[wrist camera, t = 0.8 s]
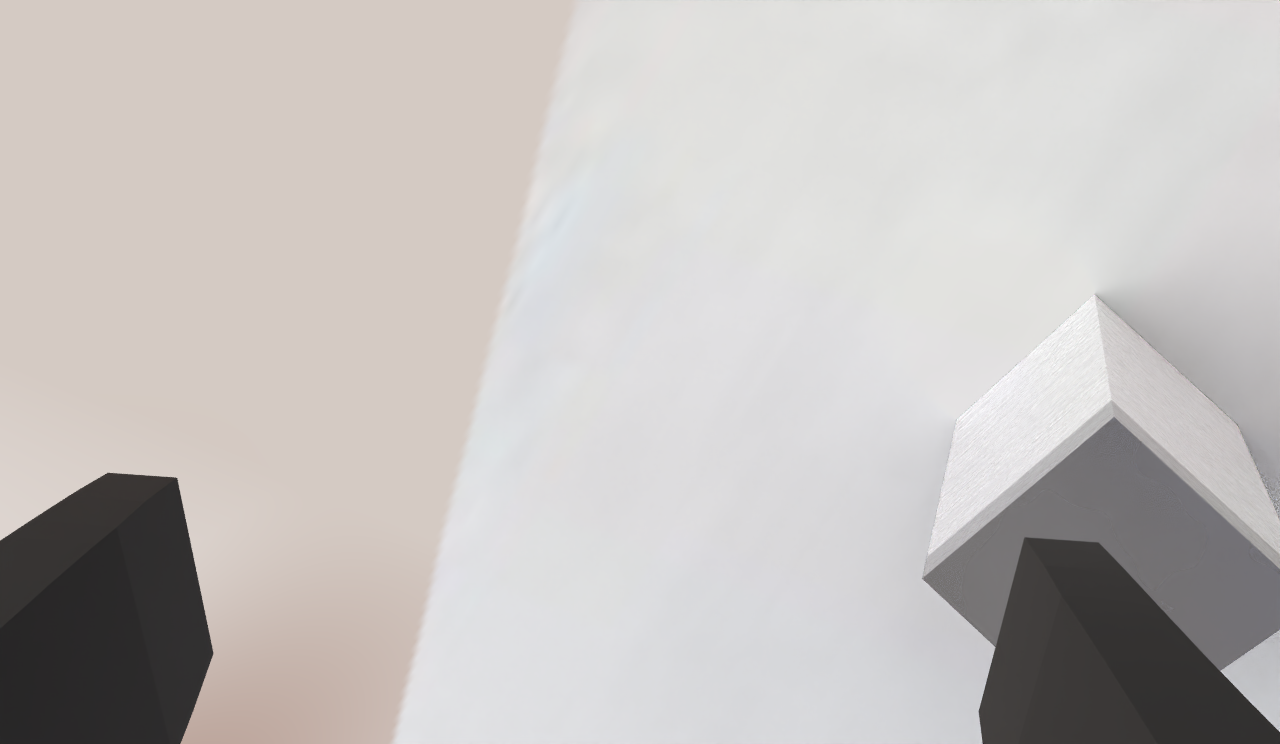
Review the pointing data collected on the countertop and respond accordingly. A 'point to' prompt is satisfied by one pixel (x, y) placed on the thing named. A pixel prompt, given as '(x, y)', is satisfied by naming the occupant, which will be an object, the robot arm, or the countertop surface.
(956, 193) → the countertop surface
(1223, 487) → the peg
